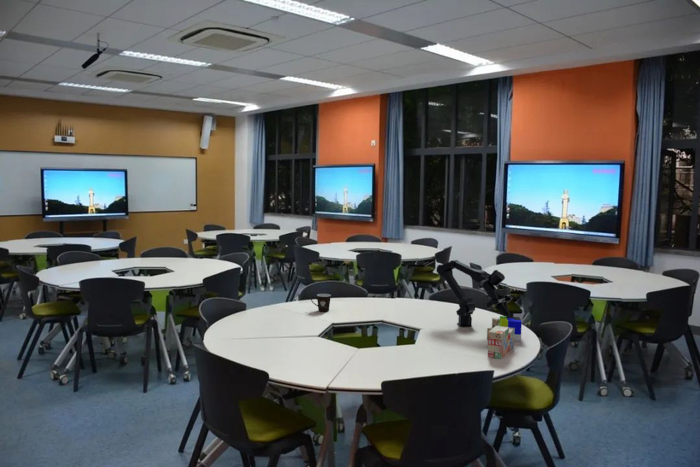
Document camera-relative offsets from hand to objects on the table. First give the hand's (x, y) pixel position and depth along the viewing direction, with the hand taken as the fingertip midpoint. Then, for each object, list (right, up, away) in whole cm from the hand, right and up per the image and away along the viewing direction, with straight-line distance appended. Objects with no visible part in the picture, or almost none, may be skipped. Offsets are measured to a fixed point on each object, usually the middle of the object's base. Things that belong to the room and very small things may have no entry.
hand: (509, 314), depth 276 cm
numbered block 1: (-2, -10, +13) cm, 17 cm away
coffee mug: (-101, -6, +52) cm, 114 cm away
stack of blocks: (-12, -14, -26) cm, 32 cm away
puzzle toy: (0, -12, -2) cm, 12 cm away
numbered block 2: (-10, -12, -8) cm, 18 cm away
